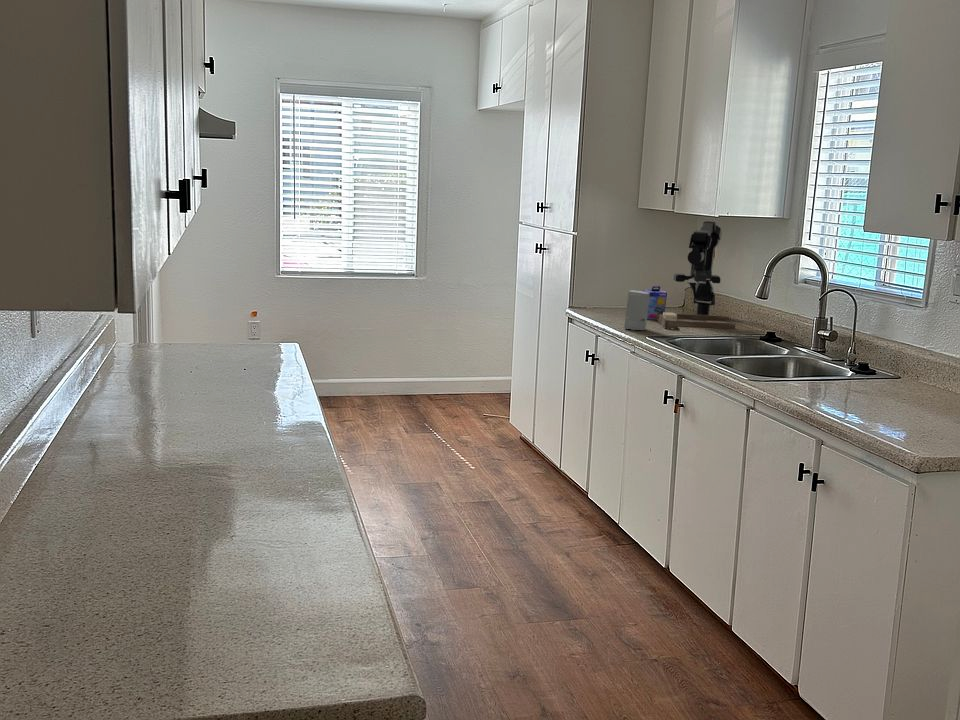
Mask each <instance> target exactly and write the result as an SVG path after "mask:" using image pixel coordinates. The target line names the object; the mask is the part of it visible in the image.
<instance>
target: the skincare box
mask: <svg viewBox="0 0 960 720" xmlns="http://www.w3.org/2000/svg"><path fill="white" fill-rule="evenodd" d="M649 296H650V292H643V290H633V289H630V290H629V291H628V295H627V303H626V311H625V318H624V325H623V326H624V327H623V328H624V330H626V329H631V330H630V331H635V330H644V329H645V330H646V326H647V320H648V319H647V312H648V304H649ZM645 330H644V331H645Z"/></svg>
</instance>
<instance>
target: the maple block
mask: <svg viewBox="0 0 960 720" xmlns="http://www.w3.org/2000/svg"><path fill="white" fill-rule="evenodd" d="M677 314H678V313H675V312H666V311H665V312H663V317H665V318H666V319H667V320H672V321H677Z"/></svg>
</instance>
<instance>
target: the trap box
mask: <svg viewBox="0 0 960 720" xmlns="http://www.w3.org/2000/svg"><path fill="white" fill-rule="evenodd" d="M676 314H677V321H672V320H667V319H666V318H665V317H663V313H658V317H657V319H656V320H657V323H659V324H660V326H661V327H663V328H664V327H665V328H675V329H674V330H680V327H689V328H690V327H697V328H712V329H713V328H715V329H733V330H735V329H736V323H735V322H734V323H733V322H727V321H726V320H725V319H726V316H725V315H713V314H709V315H696V314H691V313H690V314H689V313H688V314H687V313H676ZM694 320H695V321H694ZM697 320H698V321H697ZM665 328H664V329H665Z"/></svg>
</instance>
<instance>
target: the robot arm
mask: <svg viewBox="0 0 960 720" xmlns="http://www.w3.org/2000/svg"><path fill="white" fill-rule="evenodd" d="M721 240H722V228H721V227H720V226H719V225H718V224H717V223H716V222H715V221H710V220H709V221H708V220H706V221H703V224H702V226H701V227H700V229H699V230H695V231H693V233H691V236H690V240H689V244H688V245H689V246H688V249H691V251H690V252H689V253H688V255H687V261H688V262H689V263H690V273H689V275H686V274H684V273H676V272H675V273H674V274H673V281H674V282H678V283H683V282H685V281H686V283H688V285H689V286H690V289H691V292H692V297H693V304H696V312H695V315H710V312H711V310H710V309H711V306H716V295H715V291H714V286H713V285H712V284H721V281H722V279H721V277H720V276H719V275H717V274H712V273H713V267H714V265H713V264H714V257H715V249H717V247H718V245H720V241H721Z"/></svg>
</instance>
